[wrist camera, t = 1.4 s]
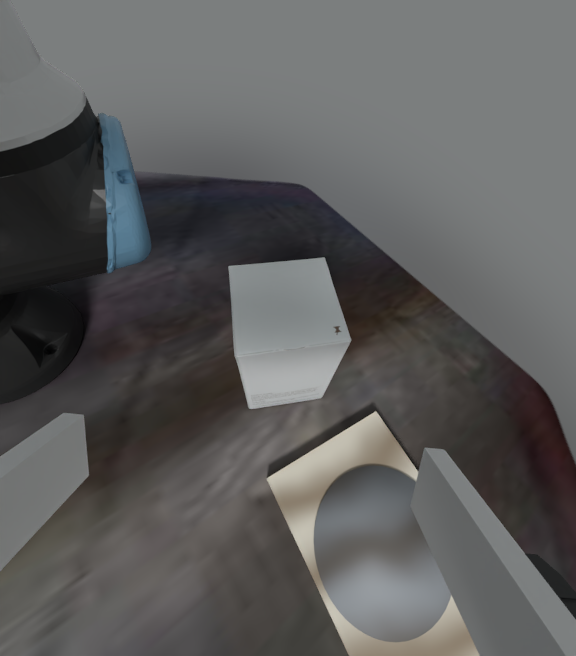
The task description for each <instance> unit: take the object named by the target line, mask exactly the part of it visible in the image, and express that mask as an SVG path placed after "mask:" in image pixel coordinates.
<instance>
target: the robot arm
mask: <svg viewBox="0 0 576 656" xmlns="http://www.w3.org/2000/svg"><path fill="white" fill-rule="evenodd" d="M150 251H151V240H150V235H149V230H148V226H147V222H146V217H145V213H144V209H143V205H142V201H141V197H140V193H139V189H138V185H137V181H136V177H135V173H134V169H133V166H132V162H131V158H130V154H129V151H128V147H127V143H126V140H125V137H124V134H123V130H122V126H121V124H120V122H119V121H118V119H117V118H115V117H113V116H107V115H106V114H104V113H101V114H98V116H97V117H96V116H95V115H94V113H93V111H92V109H91V107H90V105H89V103H88V100H87V98H86V96H85V93H84V91H83V89H82V88H81V87H80V85H79V84H78V83H77V81H75V80H74V79H72V78H71V77H69V76H68V75H66V74H65V73H63V72H62V71H60V70H59V69H57V68H56V67H54V66H53V65H52V64H50V63H48V62H47V61H46V60H44V59H43V58H42V57H41V55H40V54H39V53H38V52H37V50H36V49H35V47H34V45H33V43H32V41H31V39H30V37H29V35H28V33H27V31H26V29H25V27H24V25H23V23H22V22H21V20H20V18H19V16H18V14H17V12H16V10H15V8H14V6H13V4H12V2H11V0H0V404H3V403H7V402H11V401H14V400H17V399H20V398H23V397H25V396H27V395H29V394H31V393H33V392H35V391H37V390H39V389H40V388H42V387H44V386H45V385H47V384H48V383H49V382H51V381H52V380H53V379H55V378H56V377H57V376H58V375H59V374H60V373H61V372H62V371H63V370H64V369H65V368H66V367H67V366H68V364H69V363H70V362H71V361H72V359H73V358H74V356H75V355H76V353H77V351H78V349H79V347H80V344H81V341H82V338H83V331H84V326H83V320H82V316H81V314H80V312H79V311H78V309H77V308H76V307H75V306H74V305H73V304H72V303H71V302H70V301H69V300H68V299H67V298H66V297H65V296H64V295H62V294H61V293H59V292H58V291H56V290H54V289H52V288H50V287H46V286H47V285H51V284H56V283H60V282H65V281H70V280H74V279H79V278H83V277H88V276H92V275H97V274H102V273H106V272H107V273H111V272H113V271H114V270H115V269H118V268H122V267H125V266H129V265H133V264H136V263H140V262H141V261H143V260H145V259H146V258H147V256H148V255H149V254H150ZM88 476H89V471H88V459H87V448H86V436H85V424H84V415H80V414H70V413H63V414H61V415H60V416H58V417H57V418H56V419H54V420H53V421H51V422H50V423H48V424H47V425H45V426H44V427H42V428H41V429H40V430H38V431H37V432H35V433H34V434H32V435H31V436H29V437H28V438H27V439H25V440H24V441H22V442H21V443H19V444H18V445H16V446H15V447H13V448H12V449H11V450H9V451H8V452H6V453H5V454H3V455H2V456H0V571H1V570H2V569H3V568H4V567H5V565H6V564H7V563H8V562H9V561H10V560H11V559H12V558H13V557H14V556H15V555H16V554H17V552H18V551H19V550H20V549H21V548H22V547H23V546H24V545H25V544H26V543H27V542H28V541H29V540H30V538H31V537H32V536H33V535H34V534H35V533H36V532H37V531H38V530H39V529H40V528H41V527H42V525H43V524H44V523H45V522H46V521H47V520H48V519H49V518H50V517H51V516H52V515H53V514H54V513H55V511H56V510H57V509H58V508H59V507H60V506H61V505H62V504H63V503H64V502H65V501H66V500H67V499H68V497H69V496H70V495H71V494H72V493H73V492H74V491H75V490H76V489H77V488H78V487H79V486H80V484H81V483H82V482H83V481H84V480H85V479H86V478H87V477H88ZM410 507H411V509H412V511H413V513H414V515H415V518H416V520H417V522H418V524H419V526H420V528H421V530H422V533H423V535H424V537H425V539H426V541H427V543H428V545H429V548H430V550H431V552H432V554H433V556H434V558H435V561H436V563H437V565H438V567H439V569H440V571H441V573H442V576H443V578H444V580H445V582H446V584H447V586H448V589H449V591H450V593H451V595H452V597H453V599H454V601H455V604H456V606H457V608H458V610H459V612H460V614H461V616H462V619H463V621H464V623H465V625H466V627H467V629H468V632H469V634H470V636H471V638H472V640H473V642H474V644H475V647H476V649H477V651H478V653H479V655H480V656H576V593H575V591H574V590H573V589H572V588H571V587H570V585H569V584H568V583H567V582H566V581H565V579H564V578H563V577H562V576H561V575H560V574H559V573H558V572H557V571H556V570H554V569H553V568H552V567H551V566H550V565H549V564H547V563H546V562H545V561H544V560H543V559H542V558H540V557H539V556H538V555H536V554H525V553H524V552H523V551H522V549H521V548H520V547H519V546H518V544H517V543H516V542H515V540H514V539H513V538H512V537H511V535H510V534H509V533H508V531H507V530H506V529H505V528H504V526H503V525H502V524H501V522H500V521H499V520H498V518H497V517H496V516H495V515H494V513H493V512H492V511H491V509H490V508H489V507H488V506H487V504H486V503H485V502H484V500H483V499H482V498H481V497H480V495H479V494H478V493H477V491H476V490H475V489H474V487H473V486H472V485H471V484H470V482H469V481H468V480H467V478H466V477H465V476H464V475H463V473H462V472H461V471H460V469H459V468H458V467H457V465H456V464H455V463H454V462H453V460H452V459H451V458H450V456H449V455H448V454H447V453H446V451H445V450H443V449H433V448H424V452H423V456H422V460H421V464H420V468H419V472H418V476H417V480H416V484H415V488H414V492H413V496H412V500H411V504H410Z"/></svg>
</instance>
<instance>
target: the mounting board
mask: <svg viewBox="0 0 576 656" xmlns="http://www.w3.org/2000/svg"><path fill="white" fill-rule="evenodd" d="M417 476H418V471H417V469H416V468H415V467H414V465H413V464H412V462H411V461H410V459H409V458H408V456H407V455H406V454H405V452H404V451H403V449H402V448H401V446H400V445H399V443H398V442H397V441H396V439H395V438H394V436H393V435H392V433H391V432H390V430H389V429H388V428H387V426H386V425H385V423H384V422H383V420H382V419H381V417H380V416H379V414H378V413H377V412H376V411H375V412H374V413H372V414H370V415H369V416H367V417H366V418H364V419H362V420H361V421H359V422H357V423H356V424H354V425H353V426H351V427H349V428H348V429H346V430H344V431H343V432H341V433H340V434H338V435H336V436H335V437H333V438H331V439H330V440H328V441H327V442H325V443H323V444H322V445H320V446H318V447H317V448H315V449H314V450H312V451H310V452H309V453H307V454H305V455H304V456H302V457H301V458H299V459H297V460H296V461H294V462H292V463H291V464H289V465H288V466H286V467H284V468H283V469H281V470H279V471H278V472H276V473H275V474H273V475H271V476H270V477H268V478H267V481H268V483H269V485H270V487H271V489H272V492H273V494H274V496H275V498H276V500H277V502H278V504H279V507H280V509H281V511H282V513H283V515H284V517H285V519H286V522H287V524H288V526H289V528H290V530H291V532H292V534H293V537H294V539H295V541H296V543H297V545H298V547H299V549H300V552H301V554H302V556H303V558H304V560H305V562H306V564H307V567H308V569H309V571H310V573H311V575H312V577H313V579H314V582H315V584H316V586H317V588H318V590H319V592H320V594H321V597H322V599H323V601H324V603H325V605H326V607H327V609H328V612H329V614H330V616H331V618H332V620H333V622H334V624H335V627H336V629H337V631H338V633H339V635H340V637H341V639H342V642H343V644H344V646H345V648H346V650H347V652H348V655H349V656H480V655H479V653H478V651H477V649H476V647H475V644H474V642H473V640H472V638H471V636H470V634H469V632H468V629H467V627H466V625H465V623H464V621H463V619H462V616H461V614H460V612H459V610H458V608H457V606H456V604H455V601H454V599H453V597H452V595H451V593H450V591H449V589H448V586H447V584H446V582H445V580H444V578H443V576H442V573H441V571H440V569H439V567H438V565H437V563H436V561H435V558H434V556H433V554H432V552H431V550H430V548H429V545H428V543H427V541H426V539H425V537H424V535H423V533H422V530H421V528H420V526H419V524H418V522H417V520H416V518H415V515H414V513H413V511H412V509H411V507H410V504H411V500H412V496H413V492H414V488H415V484H416V480H417Z"/></svg>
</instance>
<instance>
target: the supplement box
mask: <svg viewBox="0 0 576 656" xmlns="http://www.w3.org/2000/svg"><path fill="white" fill-rule="evenodd" d="M228 268H229V279H230V294H231V309H232V324H233V340H234V354H235V358H236V361H237V364H238V368H239V371H240V375H241V379H242V383H243V387H244V391H245V395H246V399H247V403H248V407H249V409H255V408H261V407H268V406H274V405H281V404H287V403H294V402H300V401H307V400H313V399H319V398H322V396H323V394H324V392H325V391H326V389H327V387H328V385H329V383H330V381H331V379H332V377H333V375H334V373H335V371H336V369H337V367H338V365H339V363H340V361H341V359H342V357H343V356H344V353H345V352H346V350H347V348H348V346H349V344H350V342H351V338H350V335H349V332H348V329H347V326H346V323H345V320H344V316H343V313H342V310H341V307H340V304H339V301H338V298H337V295H336V292H335V289H334V286H333V283H332V279H331V276H330V272H329V269H328V266H327V263H326V260H325V258H324V257H323V258H314V259H303V260H292V261H281V262H270V263H259V264H247V265H236V266H228Z"/></svg>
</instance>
